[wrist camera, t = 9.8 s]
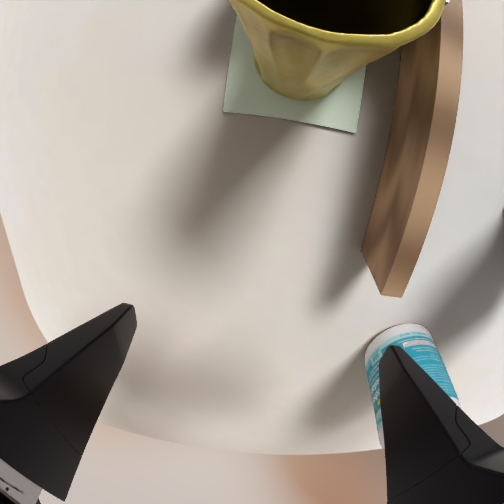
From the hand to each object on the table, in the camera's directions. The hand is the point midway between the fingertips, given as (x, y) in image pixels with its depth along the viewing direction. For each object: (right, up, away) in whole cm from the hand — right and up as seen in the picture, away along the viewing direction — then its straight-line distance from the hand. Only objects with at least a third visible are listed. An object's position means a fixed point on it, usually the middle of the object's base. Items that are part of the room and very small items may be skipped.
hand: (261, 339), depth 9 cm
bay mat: (+3, +16, +6) cm, 17 cm away
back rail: (+10, +12, +7) cm, 17 cm away
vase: (+3, +15, +6) cm, 17 cm away
